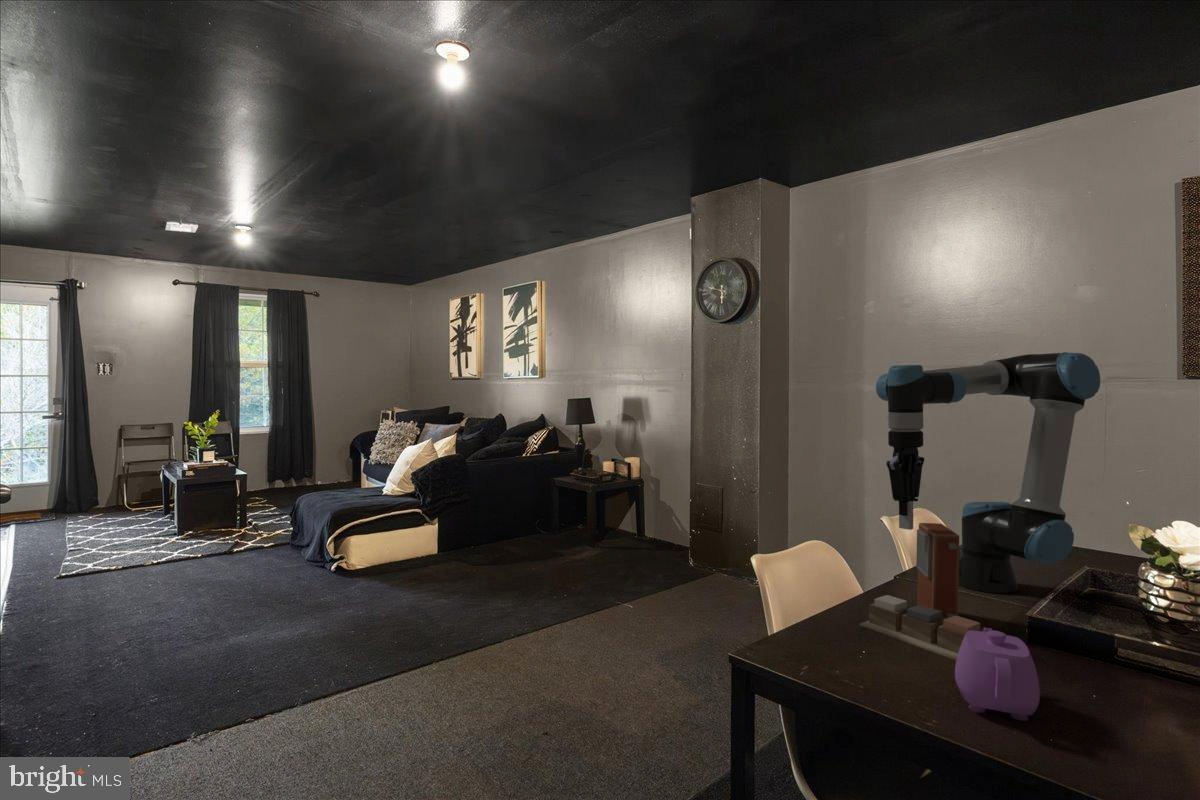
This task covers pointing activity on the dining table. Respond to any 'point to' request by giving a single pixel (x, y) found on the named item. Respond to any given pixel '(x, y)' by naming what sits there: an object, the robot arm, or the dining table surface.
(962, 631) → the terracotta key
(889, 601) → the ivory key
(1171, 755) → the dining table surface
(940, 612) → the graphite key
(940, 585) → the terracotta and grey box
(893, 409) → the robot arm
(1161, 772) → the dining table surface
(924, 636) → the keypad board
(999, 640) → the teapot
